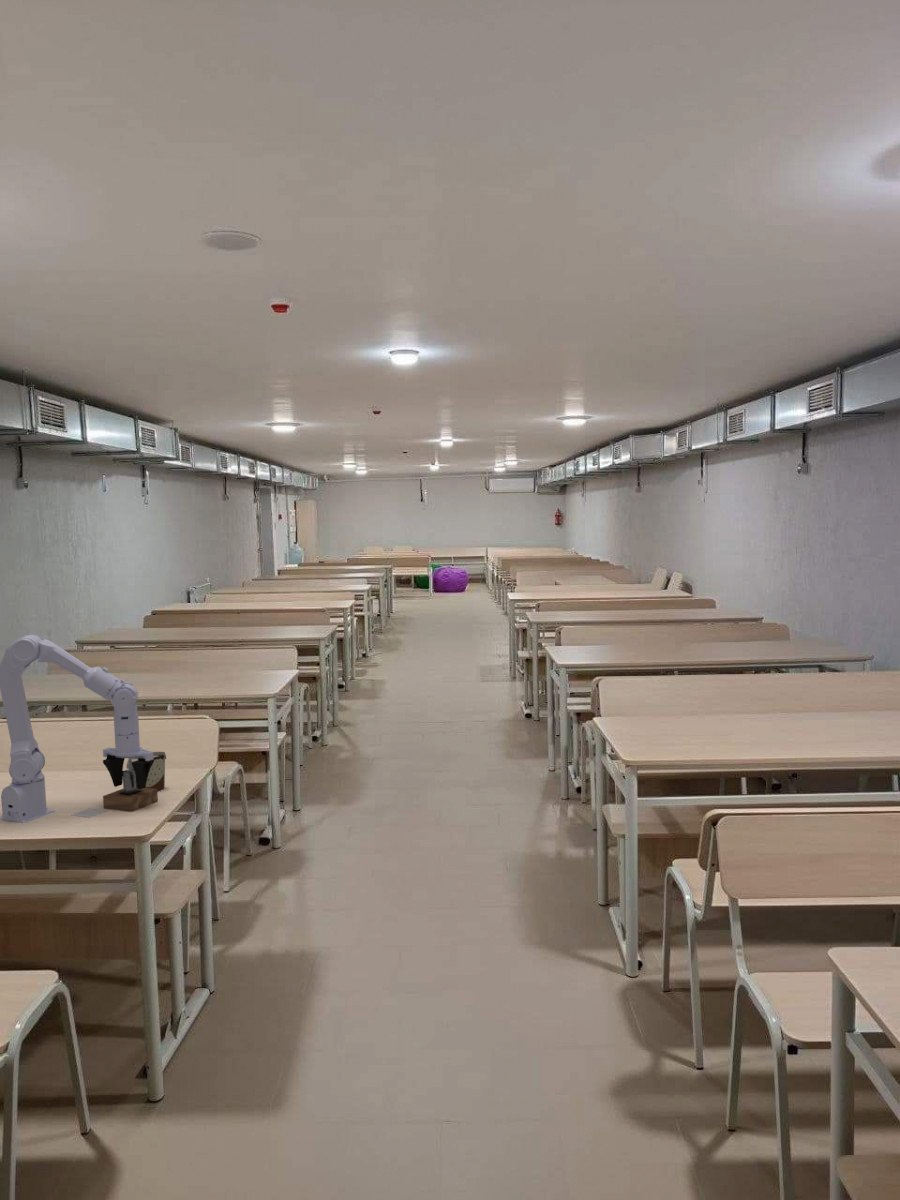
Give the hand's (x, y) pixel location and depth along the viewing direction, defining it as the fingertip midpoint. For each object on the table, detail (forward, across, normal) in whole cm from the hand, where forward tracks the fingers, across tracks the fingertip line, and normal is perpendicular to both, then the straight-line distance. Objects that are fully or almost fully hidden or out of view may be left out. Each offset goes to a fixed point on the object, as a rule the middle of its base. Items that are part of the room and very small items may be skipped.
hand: (129, 786), depth 221 cm
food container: (+5, +5, -10) cm, 12 cm away
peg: (+5, 0, 0) cm, 5 cm away
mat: (+5, +5, +8) cm, 11 cm away
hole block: (+5, 0, 0) cm, 5 cm away
